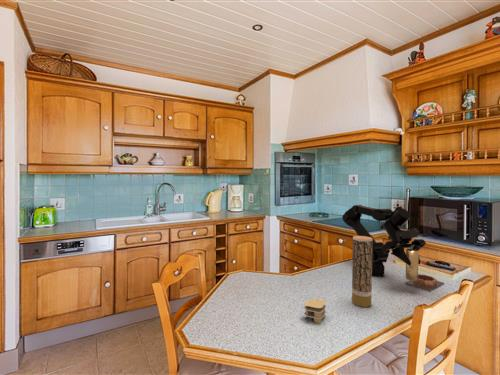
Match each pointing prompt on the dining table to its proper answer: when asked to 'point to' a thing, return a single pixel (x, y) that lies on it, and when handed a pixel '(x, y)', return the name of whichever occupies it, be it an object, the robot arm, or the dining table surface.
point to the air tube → (412, 265)
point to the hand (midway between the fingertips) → (414, 264)
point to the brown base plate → (425, 283)
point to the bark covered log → (362, 271)
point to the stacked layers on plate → (315, 309)
